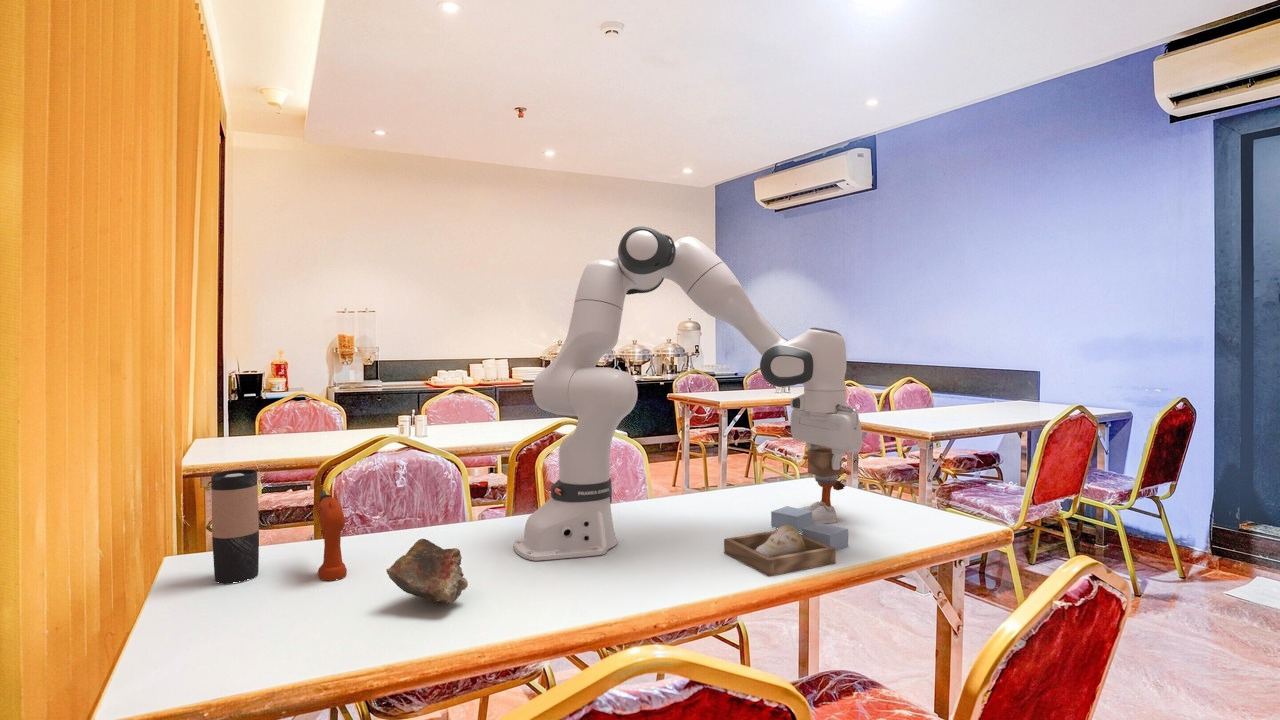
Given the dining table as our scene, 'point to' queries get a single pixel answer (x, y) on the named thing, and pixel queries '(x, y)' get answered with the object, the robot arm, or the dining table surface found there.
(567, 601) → the dining table surface
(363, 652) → the dining table surface
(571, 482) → the robot arm
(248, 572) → the travel mug
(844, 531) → the base block
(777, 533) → the beige rounded lump
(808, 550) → the wooden tray
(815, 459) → the walnut block
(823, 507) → the toy
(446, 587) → the rock
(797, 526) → the far block
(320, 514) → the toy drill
